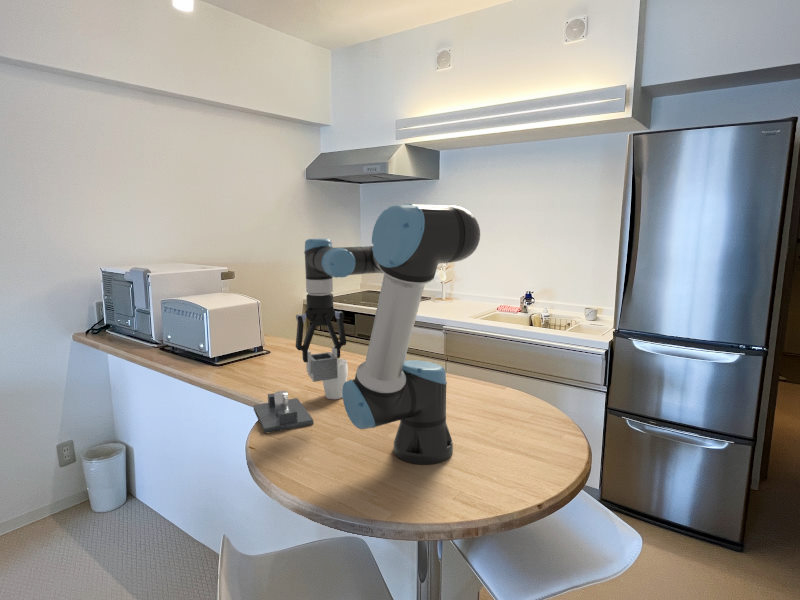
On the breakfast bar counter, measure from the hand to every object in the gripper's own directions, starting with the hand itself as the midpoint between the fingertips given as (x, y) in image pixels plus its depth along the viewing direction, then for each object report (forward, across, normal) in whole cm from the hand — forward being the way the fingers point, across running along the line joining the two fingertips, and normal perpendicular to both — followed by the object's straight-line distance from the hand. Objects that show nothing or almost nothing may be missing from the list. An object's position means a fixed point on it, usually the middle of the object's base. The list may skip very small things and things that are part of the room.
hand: (322, 370), depth 141 cm
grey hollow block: (+2, 0, 0) cm, 2 cm away
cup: (+16, -9, -19) cm, 26 cm away
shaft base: (+16, +11, -8) cm, 21 cm away
